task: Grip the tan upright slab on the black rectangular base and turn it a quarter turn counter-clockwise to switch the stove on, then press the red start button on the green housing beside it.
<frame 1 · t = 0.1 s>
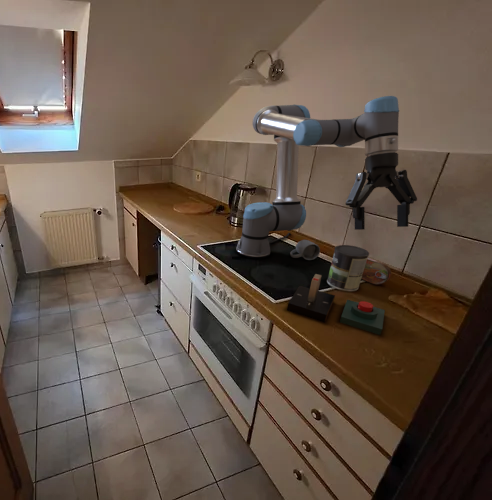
hand: (381, 228, 87), 28 cm above the worktop, tool tilted 20°, fingers open, 13 cm apart
ceramic mug: (302, 257, 136), on the worktop
start button: (365, 306, 91), point 5 cm above the worktop, slide at 0.2 cm
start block: (361, 319, 93), on the worktop
black rectangular base: (310, 306, 100), on the worktop
tan upright slab: (314, 288, 97), point 7 cm above the worktop, hinge at 0.0°
tin: (364, 279, 116), on the worktop
coffee can: (342, 285, 112), on the worktop
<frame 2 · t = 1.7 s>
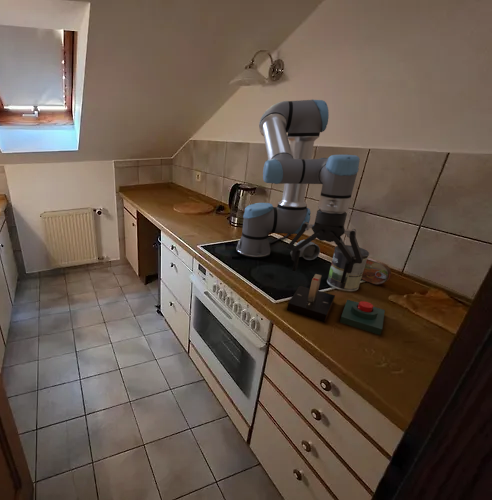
hand: (317, 275, 95), 12 cm above the worktop, tool pointing down, fingers open, 13 cm apart
nothing on the worktop moved.
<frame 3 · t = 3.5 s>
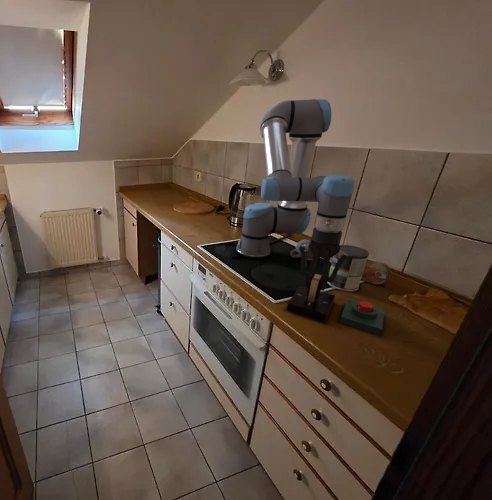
hand: (312, 296, 98), 4 cm above the worktop, tool pointing down, fingers closed on tan upright slab, 2 cm apart
tan upright slab: (314, 288, 97), point 7 cm above the worktop, hinge at 0.1°, touching gripper
everything else where it was.
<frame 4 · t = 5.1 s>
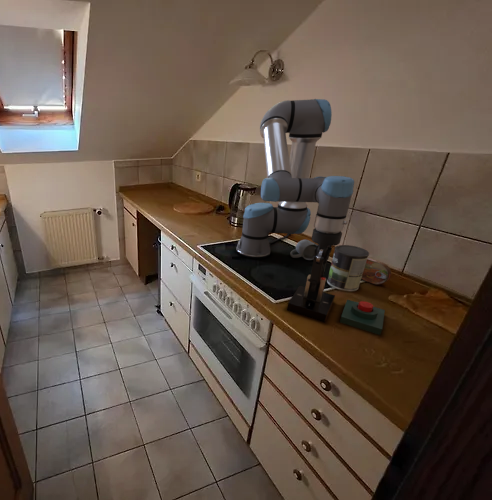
hand: (312, 297, 98), 4 cm above the worktop, tool pointing down, fingers open, 2 cm apart
tan upright slab: (314, 288, 97), point 7 cm above the worktop, hinge at 90.1°
everything else where it was.
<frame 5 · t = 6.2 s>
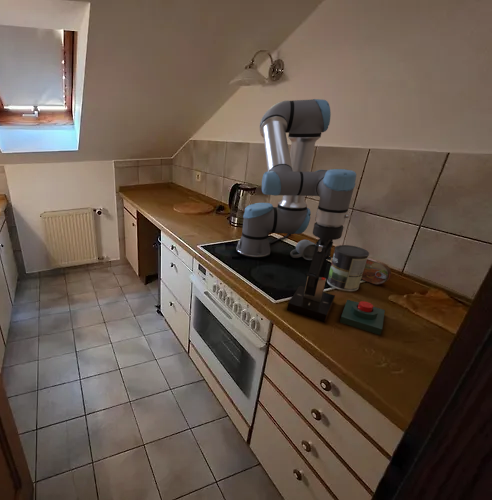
hand: (314, 285, 97), 8 cm above the worktop, tool pointing down, fingers open, 13 cm apart
nothing on the worktop moved.
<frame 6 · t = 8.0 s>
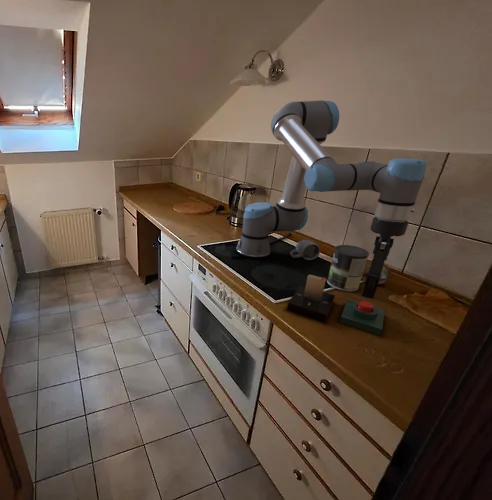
hand: (370, 287, 88), 11 cm above the worktop, tool pointing down, fingers open, 13 cm apart
nothing on the worktop moved.
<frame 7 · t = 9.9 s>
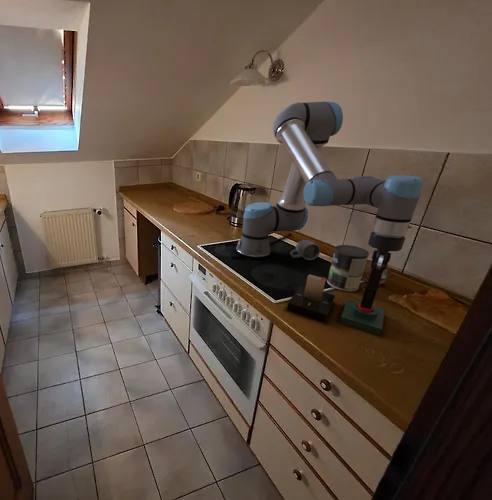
hand: (365, 306, 91), 5 cm above the worktop, tool pointing down, fingers closed
start button: (364, 309, 91), point 4 cm above the worktop, slide at -0.8 cm, touching gripper
everything else where it was.
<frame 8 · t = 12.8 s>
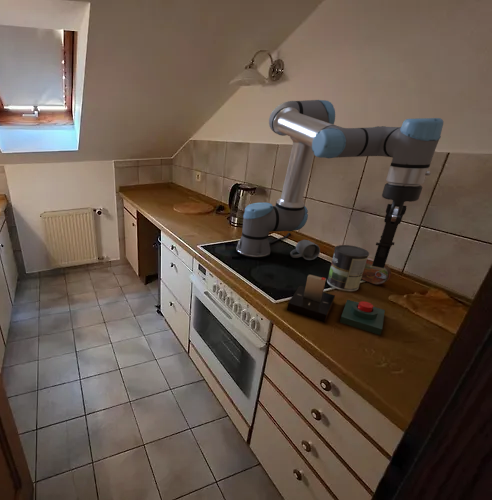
hand: (378, 266, 86), 18 cm above the worktop, tool pointing down, fingers closed
start button: (365, 306, 91), point 5 cm above the worktop, slide at 0.2 cm
everything else where it was.
at the end: tan upright slab at +90° (first picture: +0°); start button pushed in 1.0 cm at the most during the clip, back to 0.2 cm at the end; start button slide at 0.2 cm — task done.
